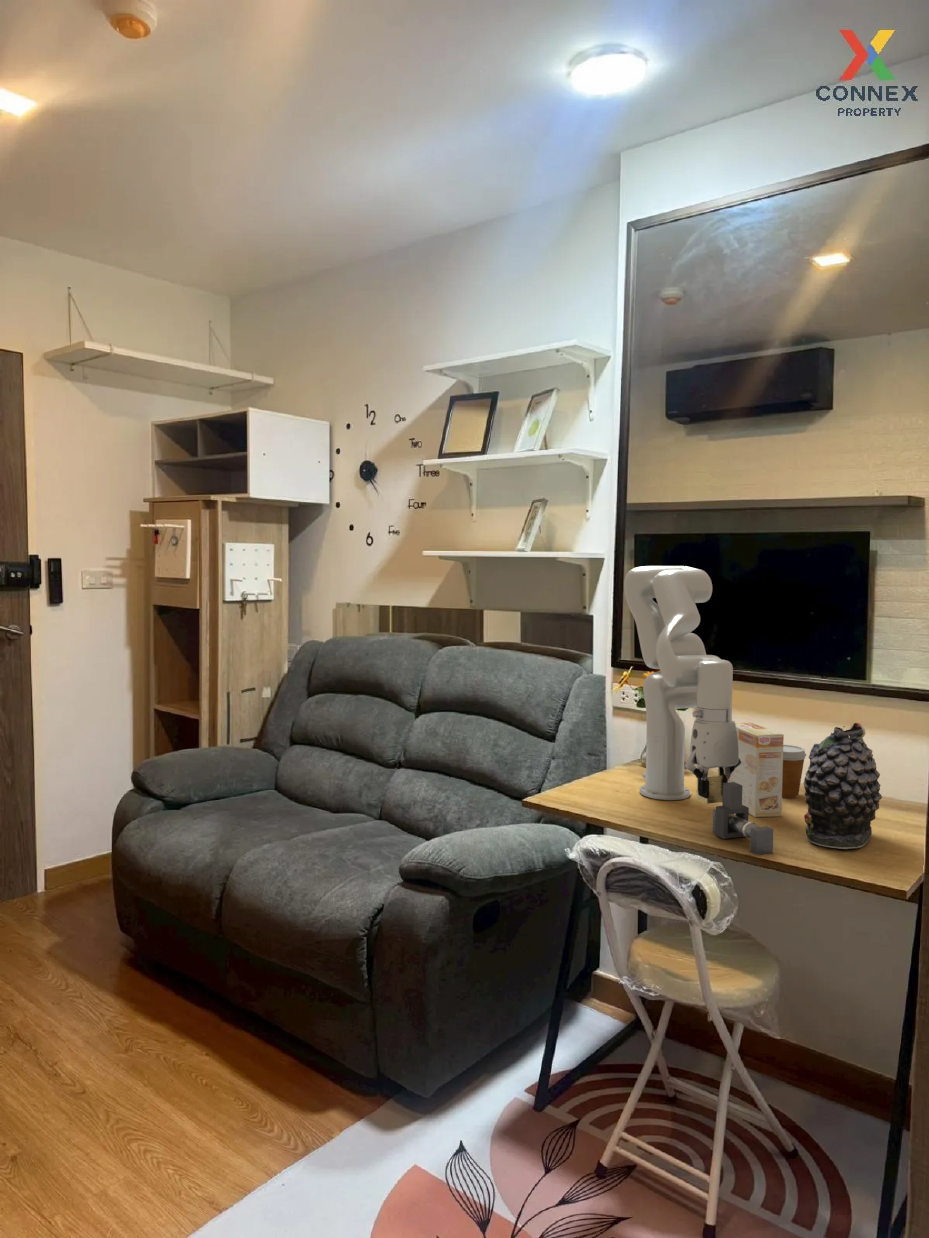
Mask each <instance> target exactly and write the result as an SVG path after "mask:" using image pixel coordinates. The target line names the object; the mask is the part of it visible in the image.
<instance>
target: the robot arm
mask: <svg viewBox="0 0 929 1238" xmlns="http://www.w3.org/2000/svg"><path fill="white" fill-rule="evenodd" d="M623 585H624V586H623V587H624V588H623V589H624V596H625V597H624V598H625V600H626V603H627V605H628V609H629V610H630V612H631V614H632V616H633V618H634V621H635V625H636V630H637V635H638V640H639V645H640V646H639V647H640V651H641V654H642V658H643V659H642V660H643V661H644V664H645V665H646V667H648V668H650V669H654V670H659V671H655V672H652V673H650V674H649V675H647V676H646V677H645V679H644V681H643V697H644V698H643V699H644V706H645V714H646V715H645V716H646V745H645V746H646V753H645V755H646V761H645V763H646V764H645V767H646V769H645V772H643V773H642V775H641V777H642V778H643V779H645V784H642V785H641V786H640V787H639V793H640V794H641V795H642V796H644V797H646V798H650V799H654V800H659V801H661V800H662V801H681V800H685V799H688V798H689V797H690V796H691V789H689V788H688V787H686V786H685V769H687V770H689V772H691V773H692V774H693V775H694V776H695V778H696V779H697V778H698V794H699V796H702V797H704V798H709V781H708V780H707V776H708V772H710V771H709V770H710V769H713V768H715V769H717V770H718V771H717V772H718V774H719V775H722V776H723V779H722V796H723V783H728V779H729V778H730V775H731V773H732V772H733V771H734V770H735V768H736V767H738V766H739V765H740V764H741V761H740V759H739V747H738V735H737V729H736V724H735V723H736V721H735V720H733V685H734V684H733V679H734V678H733V676H734V675H733V674H734V671H733V670H734V667H733V664H732V663H731V662H730V661H729V660H726V659H721V658H720V657H719V656H717V655H713V654H707V653H706V648H705V644H704V642H703V641H702V639H701V638H700V636H698V634H696V633H693V631H695V629H696V628H698V626H699V625H700V623H701V615H700V613H699V610H698V608H697V605H696V604H699V603H701V604H702V603H706V602H708V601H709V600H710V598H711V596H712V593H713V584H712V579H711V577H710V576H709V574H708V573H707V572H706V571H705V570H703V569H699V568H695V567H691V566H687V565H685V566H684V565H644V566H643V565H642V566H637V567H633V568H631V569H630V570H628V572H627V573H626V575H625V577H624V582H623ZM654 599H656V602H655V601H654ZM678 709H679V710H680V709H696V710H693V711H692V717H693V718H696V720H694V722H693V725H692V728H691V729H692V730H691V735H690V743H689V744H690V745H689V746H690V748H689V757H688V759H687V760H686V763H685V754H686V753H685V749H686V748H685V747H686V745H685V744H686V743H685V742H686V740H685V739H686V735H685V734H686V728H685V727H686V726H685V724H684V721H683V719H682V718H681V717H680V716H679V715H678V712H677V710H678ZM695 765H696V766H695Z"/></svg>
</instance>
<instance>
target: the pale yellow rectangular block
mask: <svg viewBox="0 0 929 1238" xmlns="http://www.w3.org/2000/svg"><path fill="white" fill-rule="evenodd" d="M722 779H723V776H722V775H719V773H716V772H713V771H708V776H707V780H708V781H709V798H704V797H702V796H699V794H698V778H696V800H698V801H700V802H701V803H704V804H706V805H709V804H719V803H722V799H723V796H722Z"/></svg>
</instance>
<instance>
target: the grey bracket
mask: <svg viewBox="0 0 929 1238" xmlns="http://www.w3.org/2000/svg"><path fill="white" fill-rule="evenodd" d="M721 803H722V805H716V806H715V810H716V813H715V833H714V835H716V836H717V837H719V838H721V839H723V840H724V839H725V840H727V839H733V838H741V837H745V836H744V835H743V834H741V833H739V832H737V831H735V830H733V829H731V828H728V814H734V815H736V816H738V817H740V818H743V819H745V820H747V821H749V813H748V812H749V808H748V807H746V806H744V805H742V785H740V784H738V783H735V782H728V783H723V799H722V802H721Z"/></svg>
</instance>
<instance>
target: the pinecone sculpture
mask: <svg viewBox="0 0 929 1238" xmlns="http://www.w3.org/2000/svg"><path fill="white" fill-rule="evenodd" d="M845 728H846V726H844V725H843V728H842V727H839V726H836V727H835V726H834V729H833V733H832V732H831V733H830V735H828V736H826V737H825V739H823V740H822V741H821V742H820V743H814V744H813V745H812V747H811V750H810V752H809V755H808V759H809V766H808V768H807V771H806V772H805V777H804V781H803V788H804V790H805V792H804V794H803V795H804V797H805V800H804V802H805V803H806V805H807V812H806V813H804V815H803V818H804V823H805V824H806V828H805V831H804V833H805V834H806V837H807V840H808V842H810V843H812V844H813V845H814V844H815V845H817V846H820V847H824V848H825V847H826V848H833V849H840V850H841V849H843V850H848V849H858V848H863V847H864V846H866V844H867V843H868V842H869V840H871V837H872V833H873V832H872V831H873V830H872V829H873V828H872V826H871V822H872V821H874V820H876V818H877V817H876V812H877V810H880V800H882V799H883V795H882V794H881V793H880V790H881V784H880V782H879V781H878V780H879V778H880V776H881V773H880V772H879V771H878V770H877V762H876V759H875V758H874V757H873V755H874V754H873V749H871V748H869V747H868V745H867V743H865V741H864V736H865V735H866V730H865V728H864V726H863V725H862V724H861V723H859V722H855V723H852V724H851V725H850V726H849V727H848V728H847V729H845ZM844 729H845V730H844Z"/></svg>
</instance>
